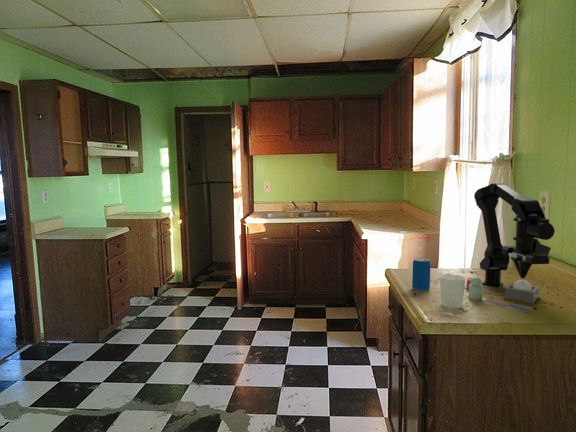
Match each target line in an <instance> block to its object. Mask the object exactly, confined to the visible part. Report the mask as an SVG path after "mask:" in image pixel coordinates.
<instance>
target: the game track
mask: <svg viewBox="0 0 576 432" xmlns="http://www.w3.org/2000/svg"><path fill="white" fill-rule="evenodd" d="M463 301H468V302H473V303H478V304H484V305H488V306H493V307H497V308H503V309H505V308H506V309H507V310H513V311H518V312H522V313H529V312H530V311H531V310H532V309H533V307H532V306H527V305H522V304H516V303H511V302H506V301H501V300H496V299H491V298H489V299H488V298H486V297H482V301H472V300H470V299H469V295H467V296H466V297H465V298H464V297H463Z"/></svg>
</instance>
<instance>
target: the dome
mask: <svg viewBox="0 0 576 432" xmlns="http://www.w3.org/2000/svg"><path fill="white" fill-rule="evenodd" d="M513 283H514V284H513V289H519V290H524V291H530V292H531V291H532V287H531V286H532V284H531V283H530V282H528V281H527V280H525V279H518V280H516V281H514V282H513Z"/></svg>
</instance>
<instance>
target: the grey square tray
mask: <svg viewBox="0 0 576 432" xmlns="http://www.w3.org/2000/svg"><path fill="white" fill-rule="evenodd" d="M514 283H515V282H510V283H509V284H508V285H507V286H505V287H504V299H508V300H512V301H517V302H518V301H519V302H525V303H529V304H534V303H535V302H536V300H537V299H538V298H539V297H540V295H539V294H540V292H539V291H540V287H539V286H535V285H531V287H532V291H531V292H530V291H524V290H519V289H513V284H514Z"/></svg>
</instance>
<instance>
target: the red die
mask: <svg viewBox="0 0 576 432" xmlns="http://www.w3.org/2000/svg"><path fill="white" fill-rule="evenodd" d="M472 278H473V277H466V290H468V291H469V284H471V279H472Z"/></svg>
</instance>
